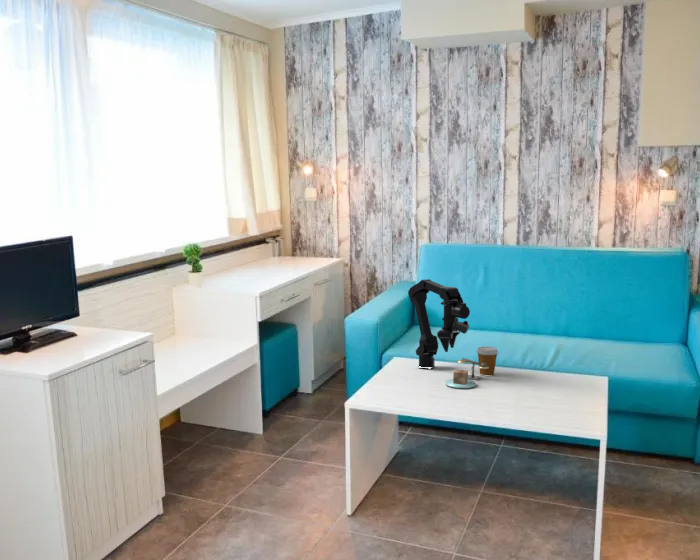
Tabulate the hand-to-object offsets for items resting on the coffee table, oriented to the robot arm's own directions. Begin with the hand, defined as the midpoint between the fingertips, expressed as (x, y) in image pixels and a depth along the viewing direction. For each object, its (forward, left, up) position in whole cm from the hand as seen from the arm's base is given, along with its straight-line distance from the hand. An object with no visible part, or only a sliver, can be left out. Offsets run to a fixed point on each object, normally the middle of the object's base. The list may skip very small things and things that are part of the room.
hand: (449, 349), depth 302 cm
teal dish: (+9, -13, -12) cm, 20 cm away
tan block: (+9, -13, -11) cm, 19 cm away
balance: (+11, 0, -12) cm, 16 cm away
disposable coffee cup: (+15, +10, -12) cm, 22 cm away
